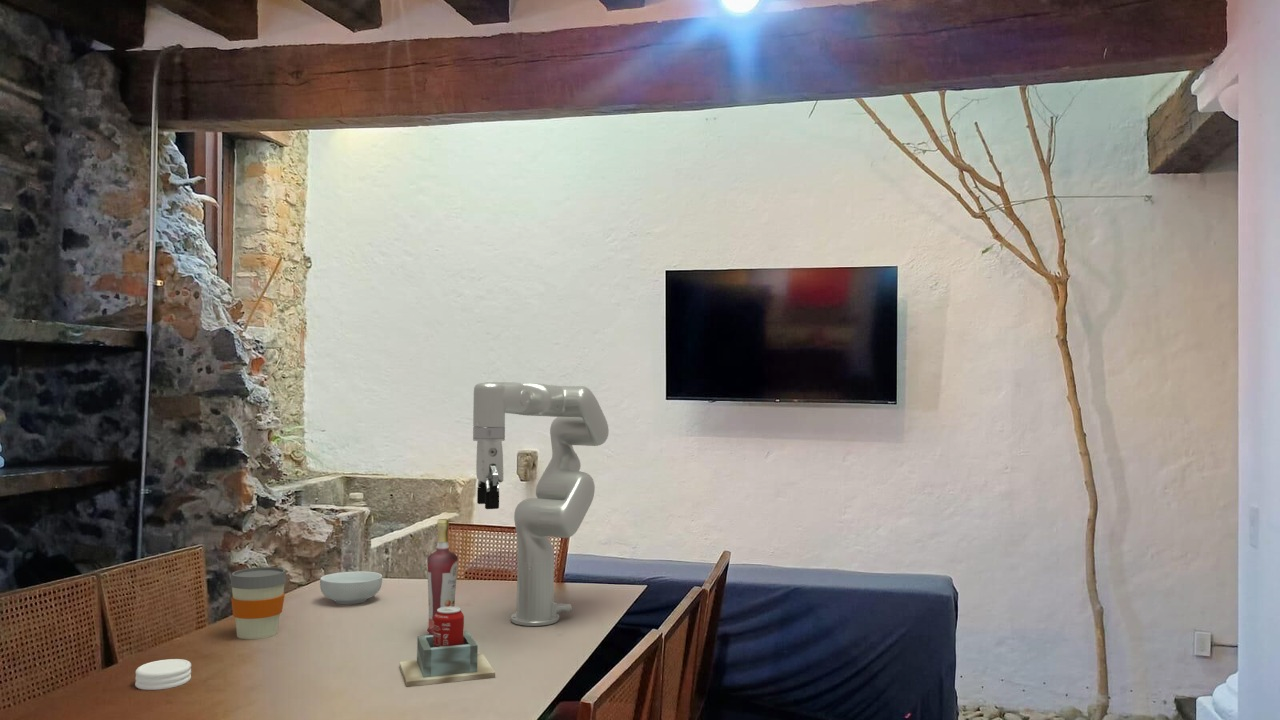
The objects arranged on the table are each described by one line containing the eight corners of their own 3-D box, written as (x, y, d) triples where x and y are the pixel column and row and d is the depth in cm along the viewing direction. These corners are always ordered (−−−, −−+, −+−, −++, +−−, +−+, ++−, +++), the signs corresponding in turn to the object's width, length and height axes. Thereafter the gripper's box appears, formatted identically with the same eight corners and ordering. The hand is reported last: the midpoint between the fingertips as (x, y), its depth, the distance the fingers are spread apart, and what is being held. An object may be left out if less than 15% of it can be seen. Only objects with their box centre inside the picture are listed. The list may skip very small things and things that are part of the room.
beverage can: (468, 663, 190) (469, 607, 190) (454, 671, 184) (455, 613, 184) (442, 660, 191) (443, 604, 192) (427, 668, 185) (428, 611, 186)
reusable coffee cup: (294, 634, 214) (295, 572, 215) (242, 644, 205) (243, 579, 206) (271, 624, 223) (272, 564, 223) (220, 634, 214) (222, 571, 214)
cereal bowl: (394, 599, 251) (395, 574, 251) (346, 611, 237) (347, 585, 237) (354, 592, 260) (355, 567, 260) (306, 603, 246) (307, 577, 246)
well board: (482, 658, 197) (483, 628, 197) (495, 677, 183) (495, 645, 184) (399, 666, 190) (400, 635, 190) (406, 686, 177) (407, 654, 177)
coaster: (132, 694, 172) (133, 676, 172) (137, 679, 181) (137, 661, 181) (190, 687, 176) (190, 669, 176) (191, 672, 185) (192, 655, 185)
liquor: (448, 640, 211) (451, 522, 212) (420, 637, 212) (422, 521, 213) (461, 631, 218) (463, 518, 219) (433, 630, 219) (435, 517, 220)
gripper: (512, 436, 204) (511, 510, 203) (497, 432, 220) (496, 501, 219) (480, 436, 201) (478, 511, 201) (467, 432, 217) (465, 502, 217)
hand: (487, 506), depth 210 cm, fingers open, 9 cm apart
